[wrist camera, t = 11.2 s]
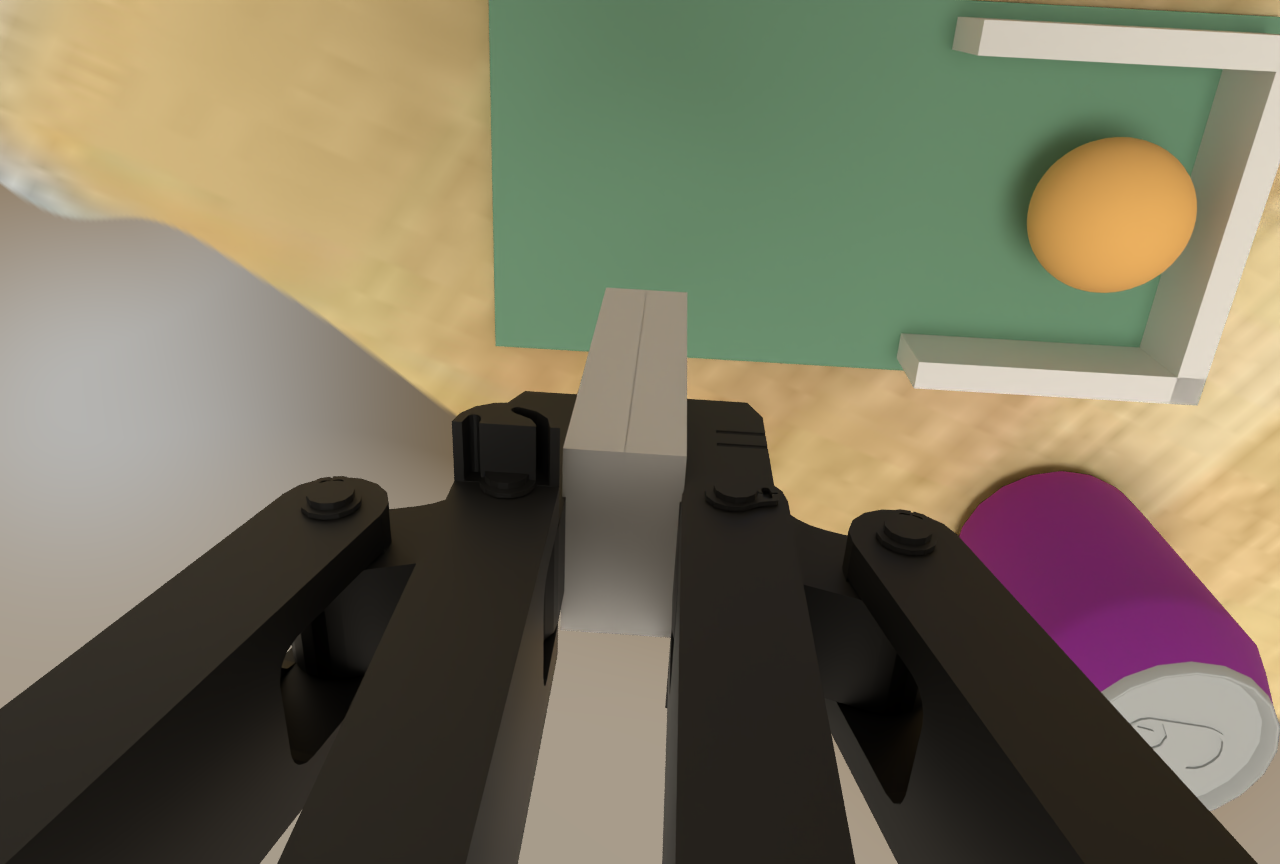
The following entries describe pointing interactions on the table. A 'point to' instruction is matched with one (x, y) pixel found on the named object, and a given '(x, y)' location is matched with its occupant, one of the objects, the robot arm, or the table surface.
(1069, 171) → the orange ball
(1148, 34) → the white u-shaped frame
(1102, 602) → the beverage can
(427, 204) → the table surface
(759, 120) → the putting mat
